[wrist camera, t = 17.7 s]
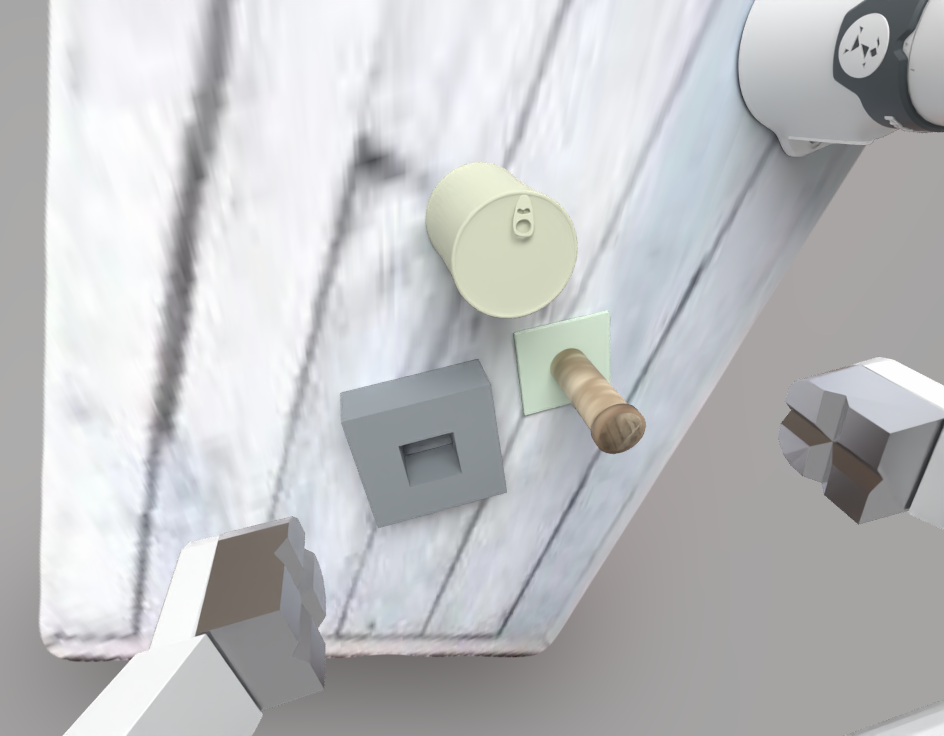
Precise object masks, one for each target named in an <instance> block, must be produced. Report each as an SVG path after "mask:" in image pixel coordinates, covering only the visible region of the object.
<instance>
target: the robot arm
mask: <svg viewBox="0 0 944 736" xmlns="http://www.w3.org/2000/svg"><path fill="white" fill-rule="evenodd" d="M738 68H739V81H740V87H741V91H742V95H743V98H744V100H745V103H746V105H747V107H748V109H749V110H750V112H751V113H752V114H753V116H754V117H755V118H756V119H757V120H758V121H759V122H760V123H762V124H763V125H765V126H766V127H768V128H769V129H771V130H772V131H773V132H774V133H775V134H776V135H777V137H778V139H779V141H780V144H781V146H782V148H783V150H784V151H785V153H786V154H787V155H789V156H792V157H802V156H805V155H807V154H810V153H812V152H814V151H816V150H819V149H821V148H823V147H826V146H828V145H830V144H833V143H840V144H852V145H868V144H871V143H873V141H874V140H875V139H878V138H881V137H884V136H886V135H888V134H890V133H892V132H894V131H896V130H898V129H901V130H903V131H909V132H919V133H927V132H944V0H755V2H754V4H753V6H752V8H751V10H750V13H749V15H748V18H747V21H746V24H745V27H744V31H743V35H742V39H741V44H740V51H739V67H738ZM786 404H787V405H788V406H789V408H790V409H791V411H790V412H789V414H788V415H787V416H786V417H785V419H784V420H783V421H782V423H781V426H780V433H779V442H780V446H781V449H782V452H783V455H784V456H785V458H786V459H787V460H788V462H789V464H790V465H791V466H792V467H793V468H794V469H795V470H797V472H799V473H800V474H801V475H802V476H804V477H807V478H810V479H812V480H815V481H818V482H821V483H822V487H823V493H824V495H825V496H826V497H827V498H828V499H829V500H831V501H832V502H833V503H834V504H835V505H836V506H838V507H839V508H840V509H841V510H842V511H844V512H845V513H846V514H847V515H848V516H849V517H850V518H851V519H853V520H854V521H855V522H856V523H857V524H862V523H866V522H869V521H873V520H877V519H880V518H884V517H887V516H891V515H894V514H898V513H901V512H905V511H909V512H908V514H909V515H912V516H914V517H916V518H919V519H921V520H923V521H925V522H927V523H930V524H932V525H934V526H937V527H939V528H941V529H943V530H944V386H943V385H941V384H939V383H937V382H935V381H933V380H931V379H930V378H928V377H926V376H924V375H921V374H920V373H918V372H916V371H914V370H912V369H910V368H908V367H906V366H904V365H902V364H900V363H898V362H897V361H895V360H893V359H888V358H882V357H877V358H873V359H870V360H866V361H863V362H859V363H856V364H852V365H850V366H848V367H843V368H840V369H836V370H832V371H829V372H825V373H822V374H818V375H815V376H811V377H807V378H804V379H800V380H796V381H794V383H793V384H792V385H791V386H790V388H789V389H788V392H787V397H786ZM304 545H305V532H304V530H303V528H302V526H301V524H300V522H299V520H298V518H296V517H293V516H292V517H287V518H283V519H279V520H275V521H271V522H267V523H263V524H259V525H255V526H251V527H247V528H243V529H238V530H234V531H230V532H226V533H224V534H222V535H217V536H213V537H209V538H205V539H201V540H197V541H192V542H188V543H187V545H186V546H185V547H184V548H183V549H182V550H181V552H180V554H179V557H178V560H177V563H176V567H175V570H174V573H173V576H172V579H171V582H170V585H169V588H168V591H167V594H166V597H165V600H164V604H163V607H162V610H161V613H160V616H159V619H158V622H157V625H156V628H155V631H154V634H153V638H152V641H151V644H150V647H149V650H147V651H144V652H141V653H138V654H136V655H135V656H134V657H133V658H132V659H131V660H130V661H129V663H128V664H127V665H126V666H125V667H124V668H123V669H122V670H121V672H120V673H119V674H118V675H117V676H116V677H115V678H114V679H113V680H112V682H111V683H110V684H109V685H108V686H107V687H106V688H105V689H104V690H103V691H102V693H101V694H100V695H99V696H98V697H97V698H96V699H95V700H94V701H93V703H92V704H91V705H90V706H89V707H88V708H87V709H86V711H85V712H84V713H83V714H82V715H81V716H80V717H79V718H78V719H77V720H76V722H75V723H74V724H73V725H72V726H71V727H70V728H69V729H68V730H67V731H66V733H65V734H64V735H63V736H252V735H253V733H254V731H255V729H256V727H257V725H258V723H259V722H260V720H261V718H262V716H263V715H262V713H261V711H264V710H267V709H270V708H273V707H276V706H279V705H282V704H285V703H288V702H291V701H294V700H297V699H300V698H302V697H306V696H308V695H311V694H314V693H317V692H320V691H323V690H324V686H325V684H324V683H325V681H324V680H325V642H324V640H323V638H322V636H321V634H320V632H319V630H318V627H319V626H320V624H321V623H322V621H323V620H324V618H325V616H326V596H325V588H324V581H323V576H322V573H321V569H320V566H319V563H318V561H317V558H316V556H315V554H314V553H312V552H310V551H308V550H306V549H304ZM844 736H944V700H941V701H938V702H935V703H933V704H930V705H927V706H924V707H921V708H919V709H916V710H913V711H911V712H908V713H905V714H902V715H899V716H897V717H894V718H891V719H888V720H886V721H883V722H880V723H877V724H874V725H872V726H869V727H866V728H863V729H861V730H858V731H855V732H852V733H850V734H847V735H844Z"/></svg>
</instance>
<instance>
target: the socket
mask: <svg viewBox="0 0 944 736" xmlns="http://www.w3.org/2000/svg"><path fill="white" fill-rule="evenodd" d="M341 423H342V426H343V429H344V432H345V435H346V438H347V440H348V443H349V446H350V449H351V452H352V455H353V458H354V460H355V463H356V466H357V469H358V472H359V475H360V478H361V480H362V483H363V486H364V489H365V492H366V495H367V498H368V500H369V503H370V506H371V509H372V512H373V515H374V518H375V521H376V523H377V526H378V528H380V527H384V526H388V525H391V524H395V523H398V522H402V521H406V520H409V519H413V518H416V517H420V516H424V515H427V514H431V513H434V512H438V511H442V510H445V509H449V508H453V507H456V506H460V505H463V504H467V503H471V502H474V501H478V500H481V499H485V498H489V497H492V496H496V495H499V494H503V493H507V489H506V482H505V476H504V469H503V463H502V456H501V450H500V443H499V437H498V430H497V424H496V417H495V410H494V404H493V397H492V391H491V384H490V382H489V380H488V378H487V376H486V374H485V372H484V370H483V368H482V366H481V364H480V362H479V360H478V359H477V360H473V361H469V362H464V363H460V364H456V365H452V366H448V367H444V368H440V369H436V370H432V371H428V372H424V373H420V374H415V375H411V376H407V377H403V378H399V379H395V380H391V381H387V382H383V383H379V384H375V385H371V386H366V387H362V388H358V389H354V390H350V391H346V392H342V393H341ZM448 433H451V438H452V444H449V445H445V446H441V447H437V448H433V449H429V450H426V451H422V452H418V453H414V454H410V455H407V456H404V453H403V449H402V445H405V444H409V443H413V442H417V441H421V440H425V439H429V438H432V437H436V436H440V435H444V434H448Z"/></svg>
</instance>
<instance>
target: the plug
mask: <svg viewBox="0 0 944 736" xmlns="http://www.w3.org/2000/svg"><path fill="white" fill-rule="evenodd" d="M550 372H551V374H552V376H553V378H554V379H555V380H556V382H557V383H558V385H559V386H560V388H561V389H562V390H563V392H564V393H565V395H566V396H567V397H568V399H569V400H570V402H571V403H572V405H573V406H574V407H575V409H576V410H577V412H578V413H579V414H580V416H581V417H582V419H583V420H584V422H585V423H586V424H587V426H588V427H589V429H590V430H591V436H592V438H593V440H594V442H595V443H596V445H597V446H598V447H599V449H601V450H602V451H603V452H606V453H610V454H616V453H621V452H624V451H626V450H628V449H630V448H632V447H633V446H634V445H636V444H637V443H638V442H639V440H640V439H641V438H642V436H643V434H644V432H645V428H646V422H645V419H644V417H643V416H642V415H641V413H640V412H639V411H638V410H637V409H636V408H635V407H634V406H632V405H630V404H627V403H626V402H625V400H624V399H623V398H622V397H621V396H620V395H619V394H618V392H617V391H616V390H615V389H614V388H613V387H612V386H611V384H610V383H609V382H608V381H607V380H606V379H605V377H604V376H603V375H602V374H601V373H600V372H599V371H598V369H597V368H596V367H595V366H594V365H593V364H592V363H591V361H590V360H589V359H588V358H587V357H586V356H585V355H584V353H583V352H582V351H580V350H578V349H575V348H569V349H565V350H563V351H561V352H559V353H558V354H557V355H556V356H555V357H554V358H553V360H552V362H551V365H550Z"/></svg>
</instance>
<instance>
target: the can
mask: <svg viewBox="0 0 944 736" xmlns="http://www.w3.org/2000/svg"><path fill="white" fill-rule="evenodd" d="M426 227H427V232H428V235H429V238H430V241H431V243H432V245H433V246H434V248H435V249H436V251H437V252H438V253H439V254H440V255H441V256H442V258H443V260H444V262H445V264H446V265H447V267H448V269H449V271H450V273H451V275H452V277H453V279H454V282H455V285H456V287H457V289H458V291H459V292H460V294H461V295H462V297H463V298H464V299H465V300H466V301H467V302H468V303H469V304H470V305H471V306H472V307H473V308H475V309H476V310H478V311H480V312H482V313H484V314H486V315H489V316H492V317H497V318H518V317H523V316H526V315H529V314H532V313H534V312H536V311H538V310H540V309H542V308H544V307H545V306H547V305H548V304H549V303H550V302H552V301H553V300H554V299H555V298H556V297H557V296H558V295H559V294H560V293H561V291H562V290H563V289H564V287H565V286H566V284H567V283H568V281H569V279H570V277H571V275H572V273H573V270H574V267H575V263H576V259H577V249H578V247H577V236H576V232H575V228H574V225H573V223H572V221H571V219H570V217H569V215H568V214H567V212H566V211H565V210H564V209H563V207H562V206H561V205H560V204H558V203H557V202H556V201H555V200H553V199H552V198H550V197H548V196H547V195H544V194H542V193H539V192H537V191H535V190H534V189H532V188H530V187H529V186H527V185H525V184H523V183H522V182H520V181H519V180H517V179H516V178H515V177H514V176H513V175H512V174H511V173H510V172H509V171H507V170H506V169H504V168H502V167H500V166H497V165H494V164H491V163H483V162H478V163H470V164H466V165H463V166H460V167H458V168H456V169H454V170H453V171H451V172H450V173H448V174H447V175H446V176H445V177H444V178H443V179H442V180H441V181H440V182H439V183H438V185H437V186H436V187H435V189H434V191H433V192H432V195H431V197H430V199H429V202H428V206H427V211H426Z"/></svg>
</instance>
